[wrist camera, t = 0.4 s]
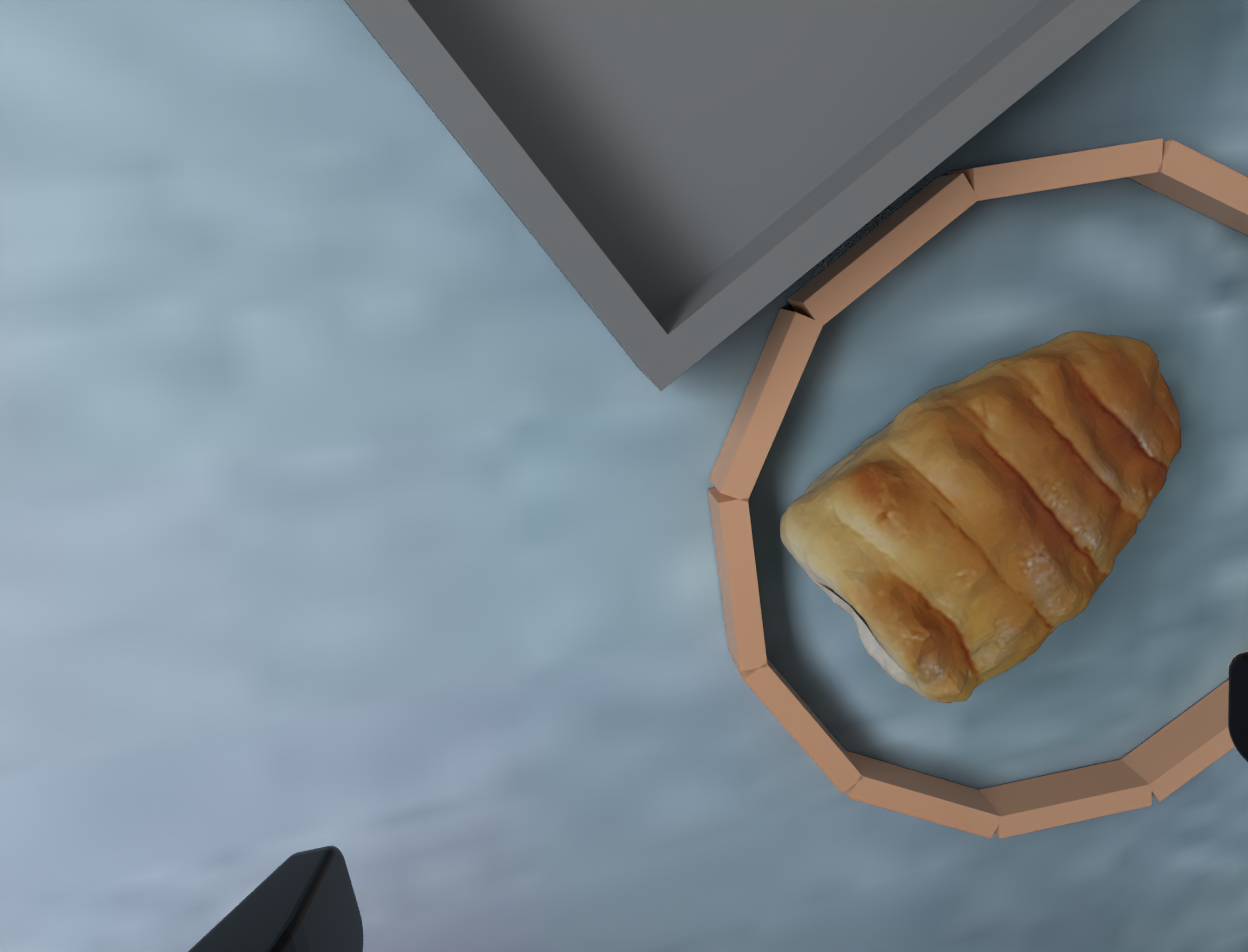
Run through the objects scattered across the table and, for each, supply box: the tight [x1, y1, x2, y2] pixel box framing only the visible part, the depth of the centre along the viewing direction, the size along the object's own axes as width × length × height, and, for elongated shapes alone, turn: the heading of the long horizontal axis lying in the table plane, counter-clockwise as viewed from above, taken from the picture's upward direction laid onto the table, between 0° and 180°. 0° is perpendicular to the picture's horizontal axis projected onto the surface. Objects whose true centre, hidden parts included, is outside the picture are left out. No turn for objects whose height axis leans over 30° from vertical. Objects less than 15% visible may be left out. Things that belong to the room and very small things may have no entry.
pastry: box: [780, 331, 1181, 703], centre depth 20 cm, size 9×7×4 cm
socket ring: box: [708, 138, 1248, 839], centre depth 22 cm, size 17×17×1 cm
